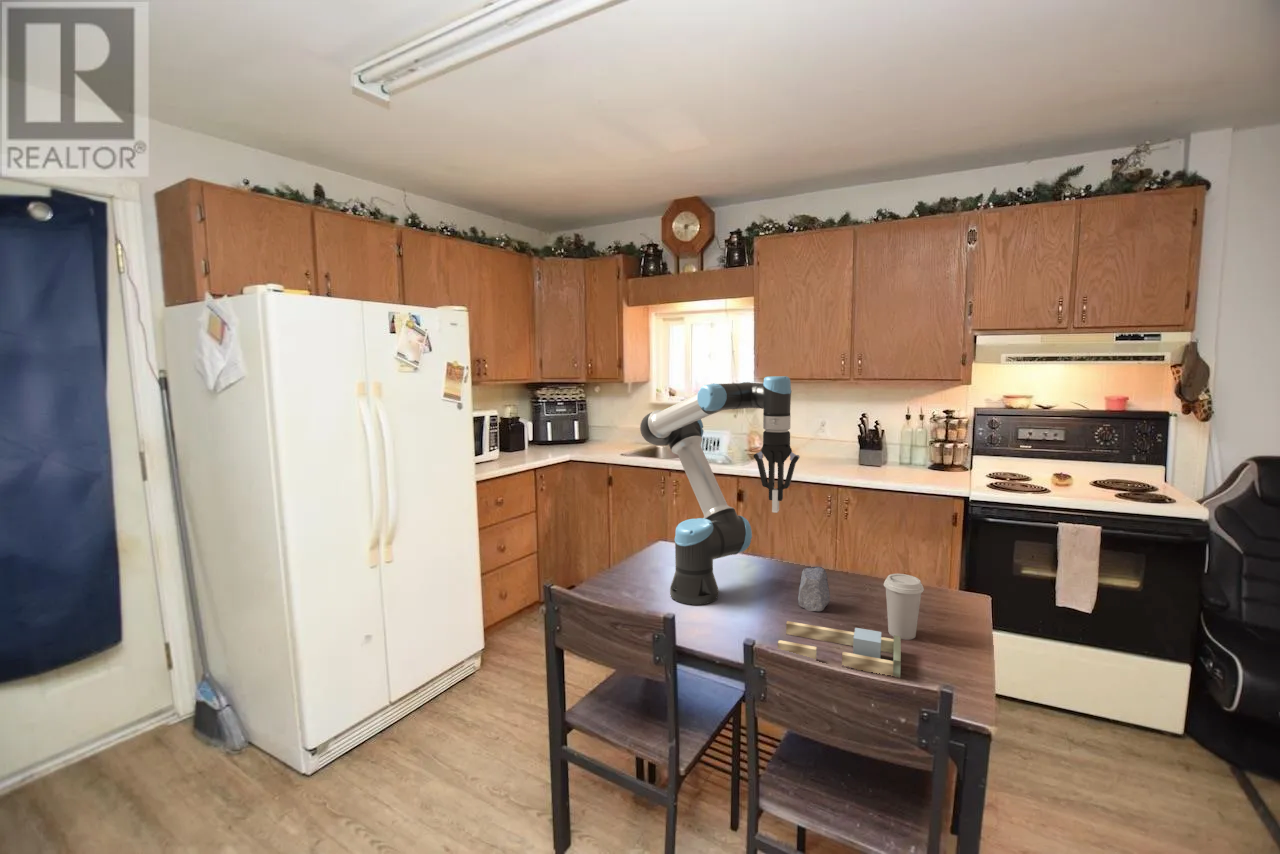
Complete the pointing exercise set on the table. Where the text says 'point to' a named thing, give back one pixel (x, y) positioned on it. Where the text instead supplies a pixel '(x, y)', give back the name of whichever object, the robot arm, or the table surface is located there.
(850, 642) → the channel
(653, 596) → the table surface
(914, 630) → the coffee cup
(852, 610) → the table surface
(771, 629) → the table surface
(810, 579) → the stone
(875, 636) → the block
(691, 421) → the robot arm
